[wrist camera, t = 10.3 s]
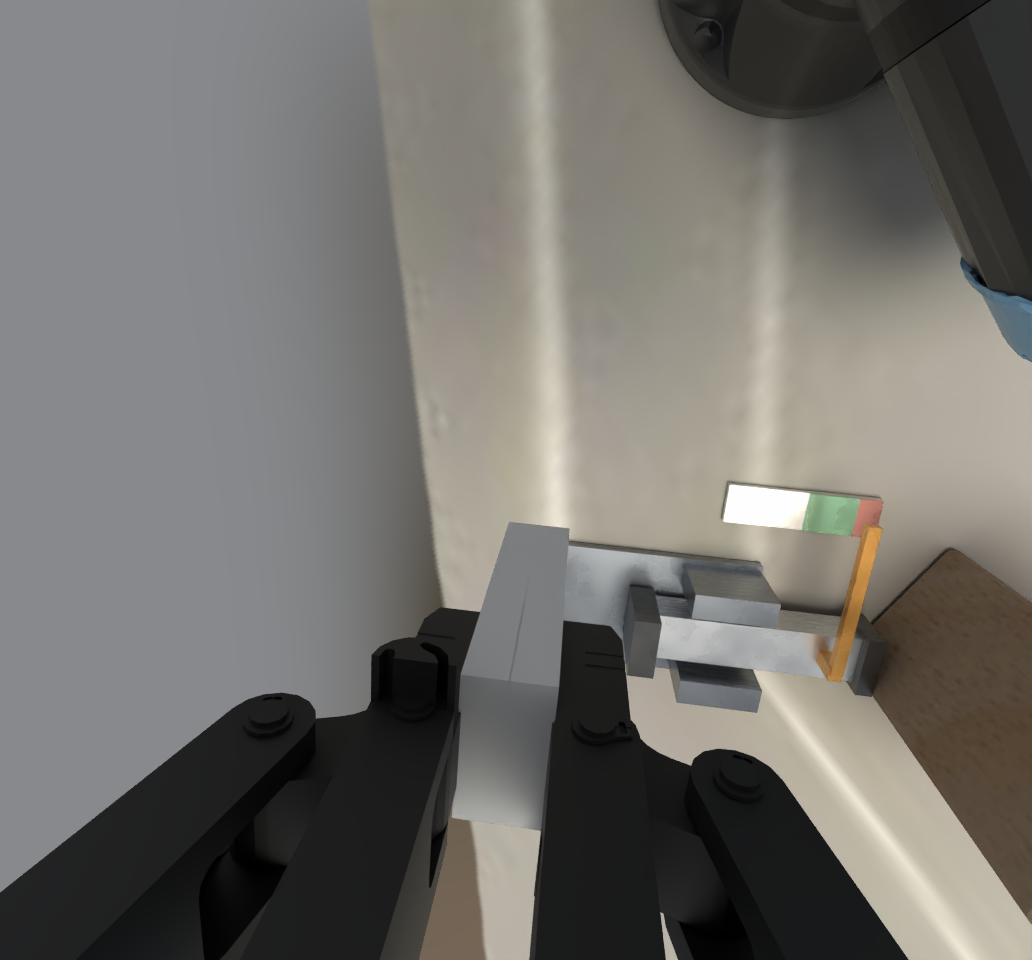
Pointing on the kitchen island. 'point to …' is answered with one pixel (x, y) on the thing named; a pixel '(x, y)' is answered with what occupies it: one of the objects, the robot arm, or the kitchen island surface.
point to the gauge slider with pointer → (763, 635)
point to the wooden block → (967, 704)
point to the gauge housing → (709, 581)
